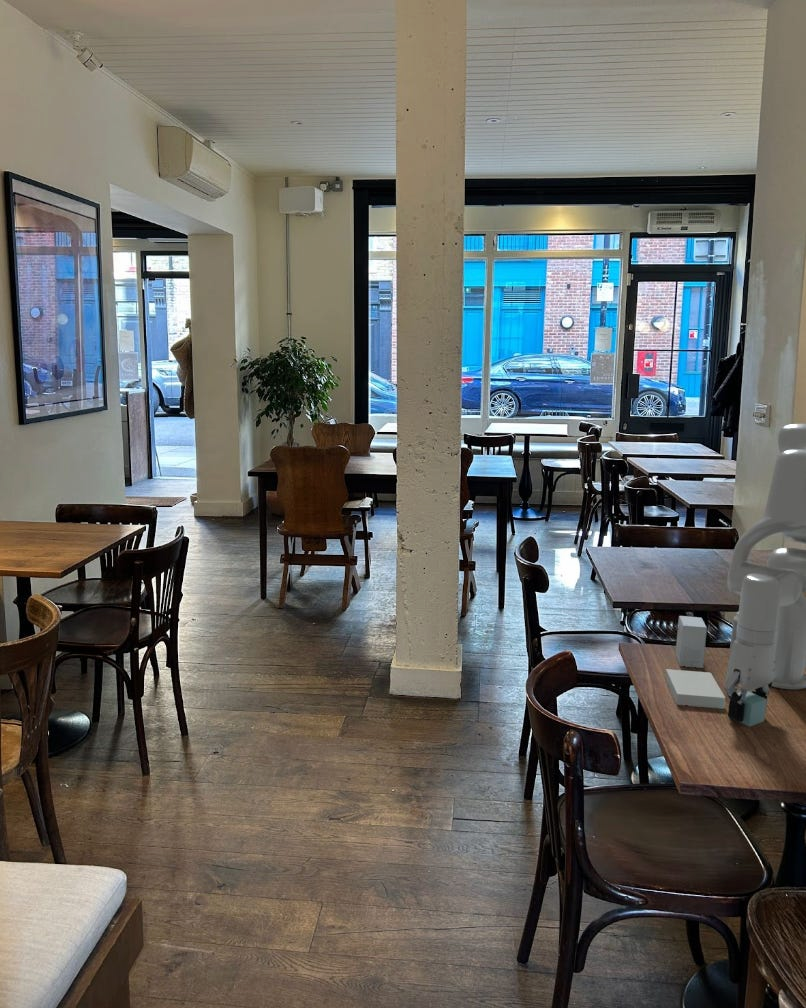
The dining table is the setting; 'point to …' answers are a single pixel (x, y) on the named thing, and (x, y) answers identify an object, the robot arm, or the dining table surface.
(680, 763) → the dining table surface
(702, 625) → the small box
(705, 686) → the plate
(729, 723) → the dining table surface
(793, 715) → the dining table surface
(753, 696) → the teal cube
